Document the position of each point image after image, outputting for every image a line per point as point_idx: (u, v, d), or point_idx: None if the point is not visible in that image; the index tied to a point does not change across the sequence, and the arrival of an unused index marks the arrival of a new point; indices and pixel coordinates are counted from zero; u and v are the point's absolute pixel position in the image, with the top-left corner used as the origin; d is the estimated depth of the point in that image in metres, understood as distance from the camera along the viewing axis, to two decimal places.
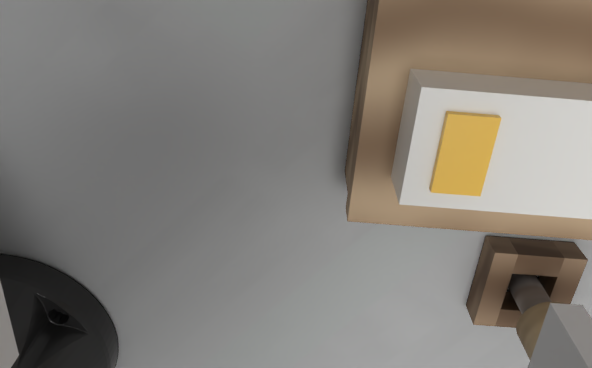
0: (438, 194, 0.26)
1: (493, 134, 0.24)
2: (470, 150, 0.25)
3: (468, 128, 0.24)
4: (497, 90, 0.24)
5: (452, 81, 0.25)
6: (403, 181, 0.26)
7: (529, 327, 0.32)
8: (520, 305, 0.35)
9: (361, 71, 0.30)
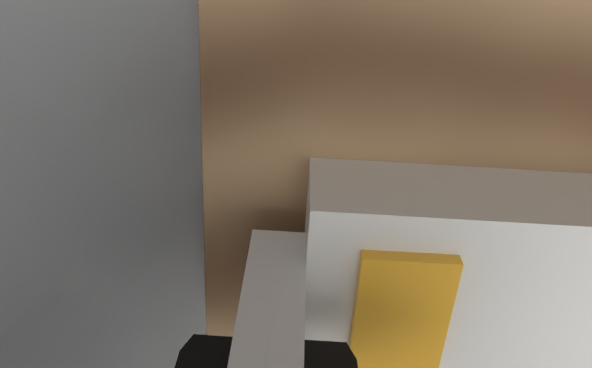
0: None
1: (450, 291, 0.13)
2: (409, 316, 0.14)
3: (403, 282, 0.13)
4: (455, 210, 0.13)
5: (376, 188, 0.14)
6: None
7: None
8: None
9: None
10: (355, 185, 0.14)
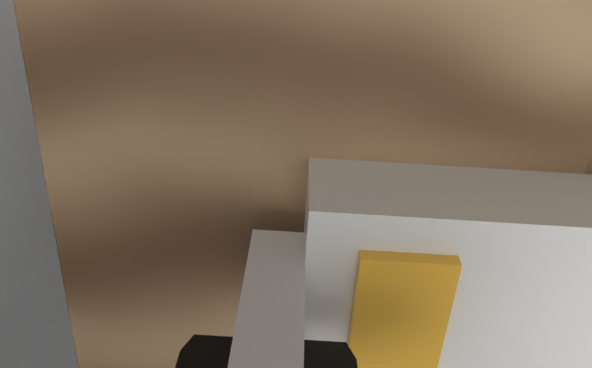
0: None
1: (449, 291, 0.13)
2: (408, 316, 0.14)
3: (401, 282, 0.13)
4: (454, 210, 0.13)
5: (375, 188, 0.14)
6: None
7: None
8: None
9: None
10: (354, 185, 0.14)
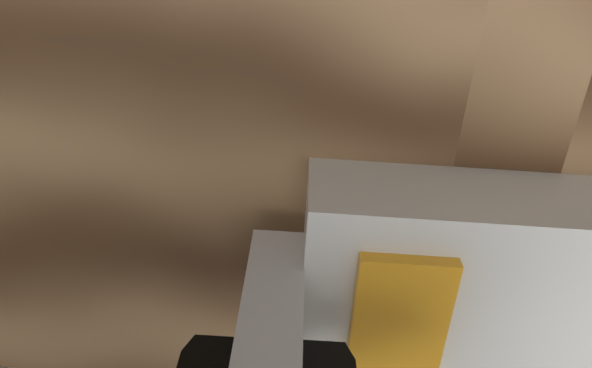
0: None
1: (450, 294, 0.13)
2: (408, 319, 0.13)
3: (402, 284, 0.13)
4: (455, 212, 0.13)
5: (375, 189, 0.14)
6: None
7: None
8: None
9: None
10: (354, 186, 0.14)
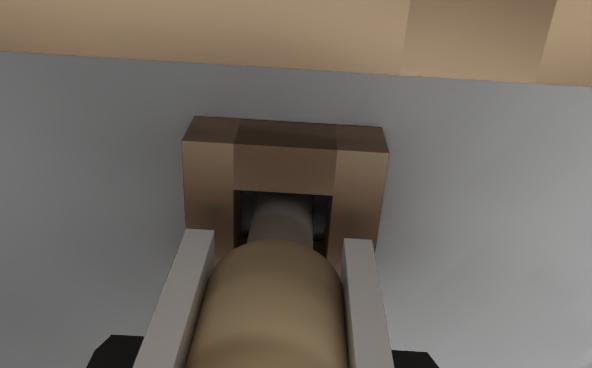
0: None
1: None
2: None
3: None
4: None
5: None
6: None
7: (204, 301, 0.13)
8: None
9: None
10: None
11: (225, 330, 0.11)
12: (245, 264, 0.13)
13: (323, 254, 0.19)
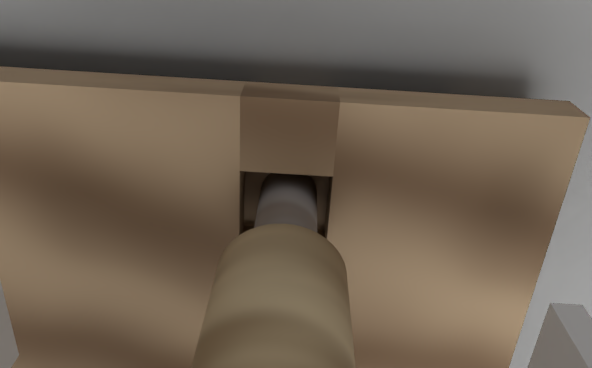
0: None
1: None
2: None
3: None
4: None
5: None
6: None
7: (214, 282, 0.14)
8: None
9: None
10: None
11: (237, 306, 0.11)
12: (254, 246, 0.13)
13: None
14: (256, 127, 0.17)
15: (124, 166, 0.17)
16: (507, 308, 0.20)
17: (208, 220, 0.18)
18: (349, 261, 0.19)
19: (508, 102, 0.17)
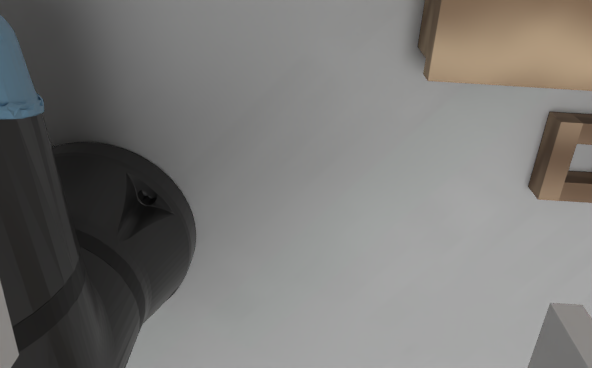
0: None
1: None
2: None
3: None
4: None
5: None
6: None
7: None
8: None
9: None
10: None
11: None
12: None
13: None
14: None
15: None
16: None
17: None
18: None
19: None
